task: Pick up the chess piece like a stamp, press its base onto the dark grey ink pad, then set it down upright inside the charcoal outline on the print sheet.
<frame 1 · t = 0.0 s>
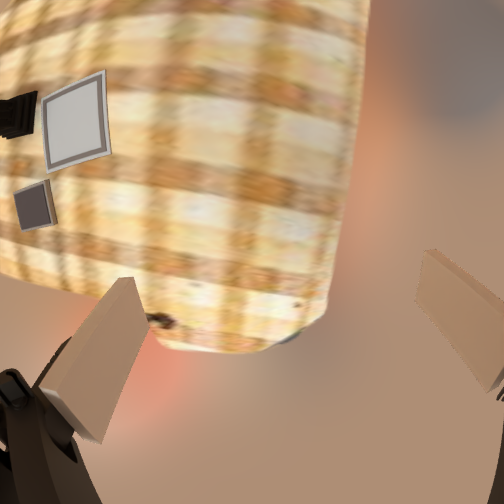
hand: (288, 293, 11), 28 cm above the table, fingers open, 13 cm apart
print sheet: (72, 122, 32), on the table
chess piece: (22, 115, 30), on the table
ink pad: (35, 206, 37), on the table
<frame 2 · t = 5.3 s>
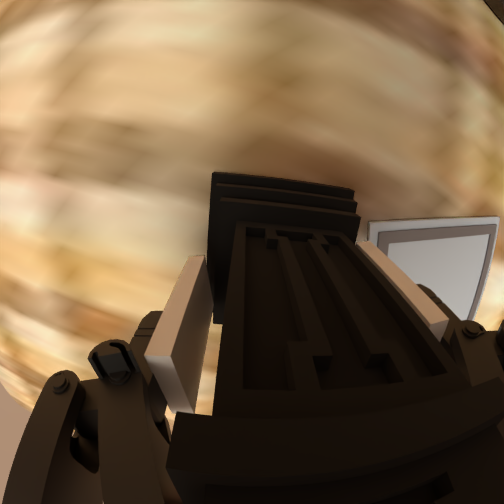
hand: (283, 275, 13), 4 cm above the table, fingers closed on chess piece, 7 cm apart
print sheet: (432, 299, 18), on the table
chess piece: (275, 243, 17), on the table, touching gripper
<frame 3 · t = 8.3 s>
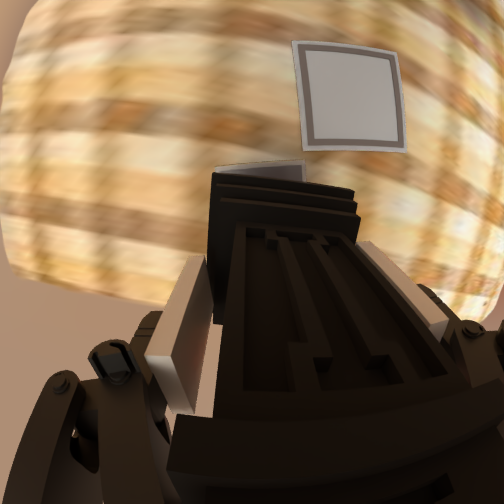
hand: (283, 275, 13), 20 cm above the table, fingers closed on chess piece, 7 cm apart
print sheet: (354, 95, 26), on the table
chess piece: (275, 243, 17), point 16 cm above the table, touching gripper
ink pad: (262, 196, 31), on the table
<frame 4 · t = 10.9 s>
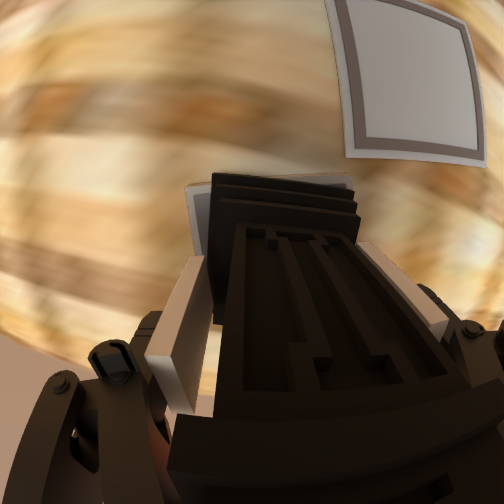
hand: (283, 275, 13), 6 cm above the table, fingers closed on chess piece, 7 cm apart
print sheet: (421, 71, 13), on the table
chess piece: (275, 244, 17), point 1 cm above the table, touching gripper, ink pad
ink pad: (273, 237, 18), on the table
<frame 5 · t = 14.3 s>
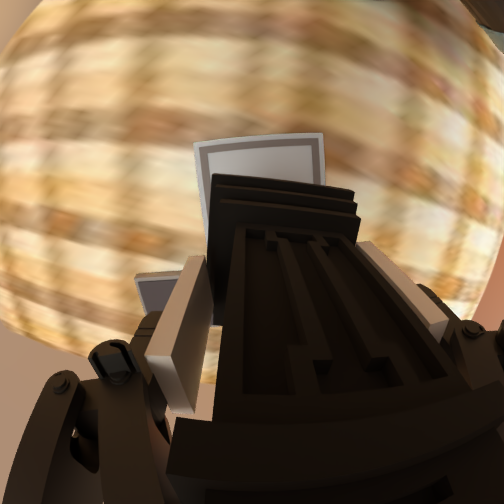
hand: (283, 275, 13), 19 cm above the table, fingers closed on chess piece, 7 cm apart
print sheet: (263, 198, 30), on the table
chess piece: (275, 244, 17), point 14 cm above the table, touching gripper
ink pad: (178, 298, 35), on the table
when the fingers open (6 cm above the table, at t = 16.8 s): chess piece drops 1 cm, resting on print sheet.
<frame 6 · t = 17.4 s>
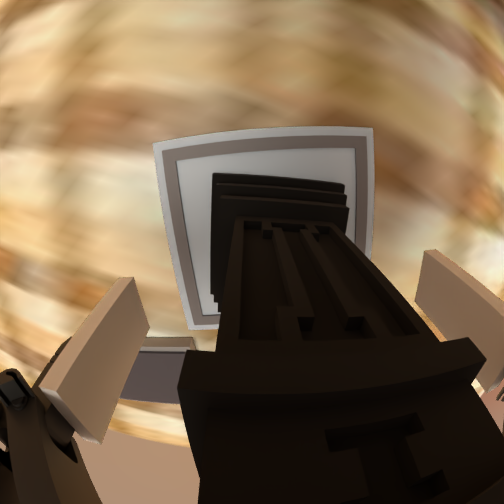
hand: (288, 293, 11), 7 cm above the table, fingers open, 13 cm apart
print sheet: (273, 236, 18), on the table
chess piece: (273, 237, 18), resting on print sheet
ink pad: (151, 369, 23), on the table
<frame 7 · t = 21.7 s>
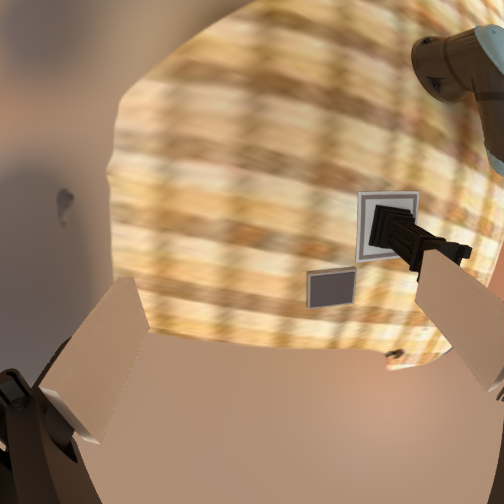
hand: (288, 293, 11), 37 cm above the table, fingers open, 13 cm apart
print sheet: (388, 226, 48), on the table
chess piece: (388, 226, 48), resting on print sheet
ink pad: (330, 286, 53), on the table
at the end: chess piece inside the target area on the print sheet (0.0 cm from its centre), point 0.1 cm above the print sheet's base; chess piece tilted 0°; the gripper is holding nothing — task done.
